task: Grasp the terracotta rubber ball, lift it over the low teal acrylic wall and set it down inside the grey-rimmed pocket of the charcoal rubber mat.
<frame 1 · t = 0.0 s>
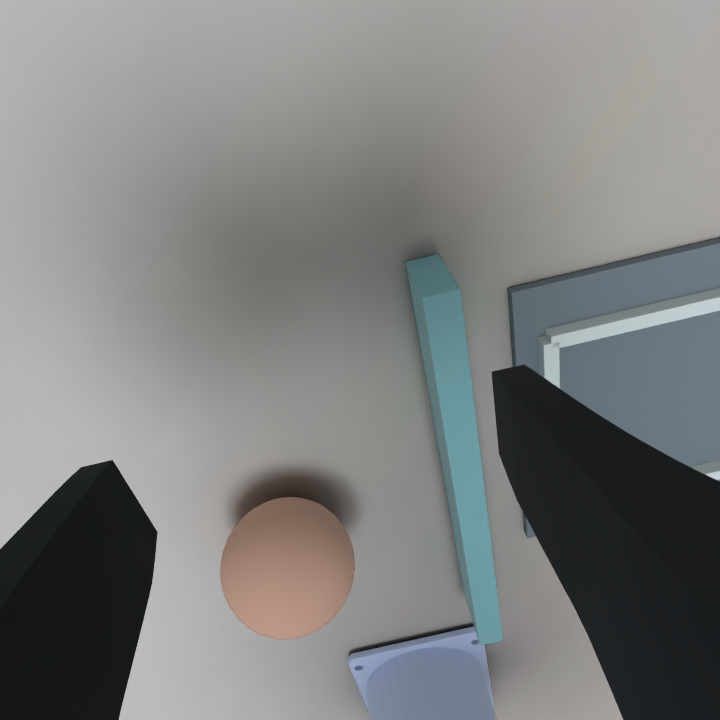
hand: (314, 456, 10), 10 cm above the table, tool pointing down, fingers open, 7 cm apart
rubber mat: (651, 398, 24), on the table
acrylic wall: (453, 460, 25), on the table
ball: (289, 514, 25), on the table
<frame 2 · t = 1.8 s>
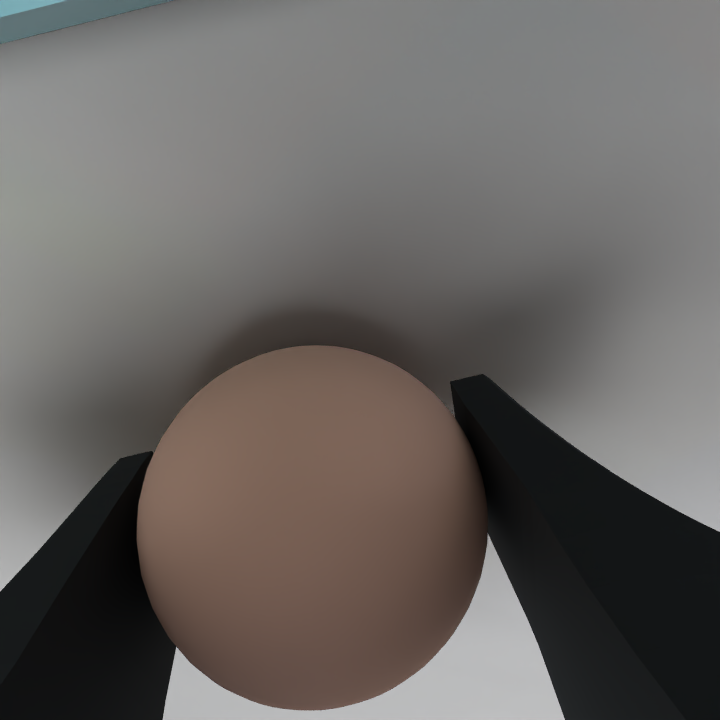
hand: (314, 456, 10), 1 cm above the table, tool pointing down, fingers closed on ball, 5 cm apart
ball: (312, 410, 11), on the table, touching gripper
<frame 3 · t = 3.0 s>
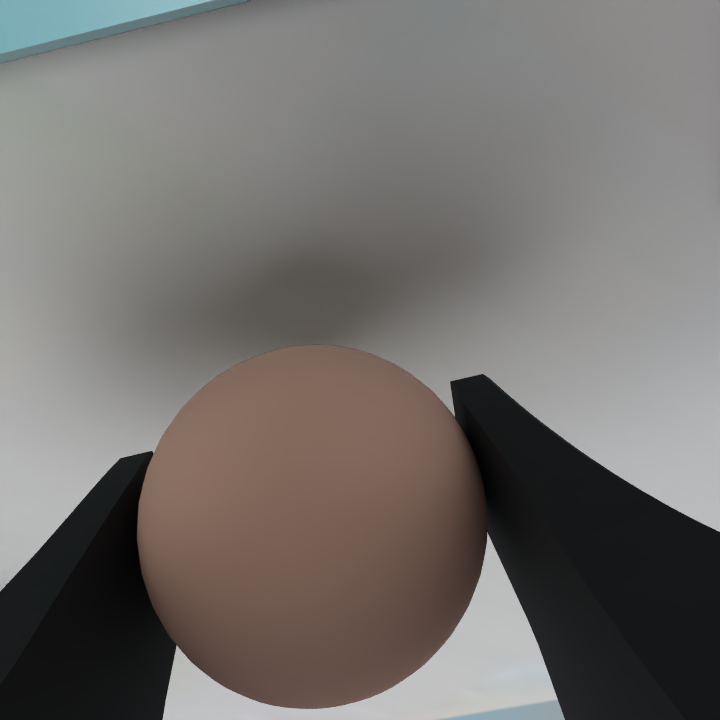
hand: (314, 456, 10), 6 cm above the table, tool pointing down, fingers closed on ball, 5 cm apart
ball: (311, 410, 11), point 5 cm above the table, touching gripper
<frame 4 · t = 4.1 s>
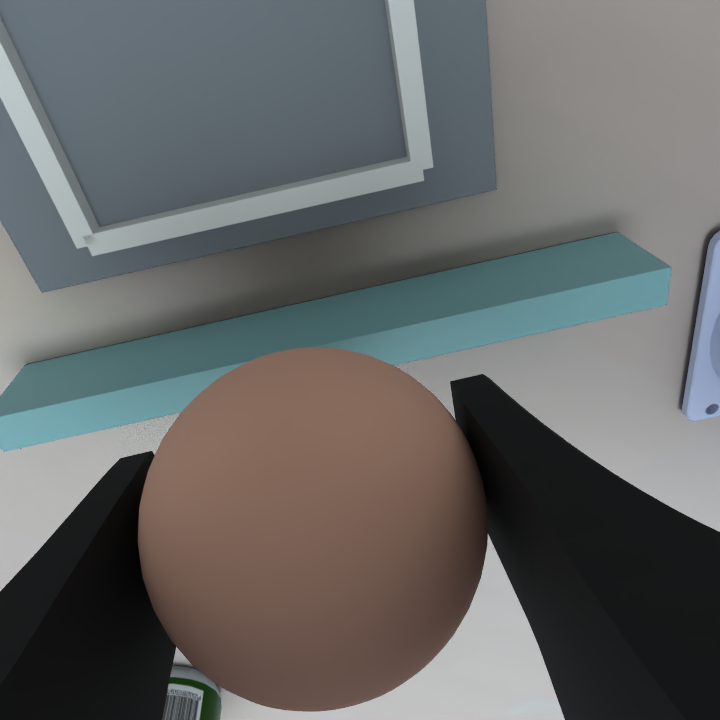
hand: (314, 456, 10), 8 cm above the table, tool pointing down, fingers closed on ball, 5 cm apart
rubber mat: (198, 7, 13), on the table
acrylic wall: (322, 314, 18), on the table
beer can: (172, 686, 29), on the table
ball: (312, 412, 11), point 7 cm above the table, touching gripper
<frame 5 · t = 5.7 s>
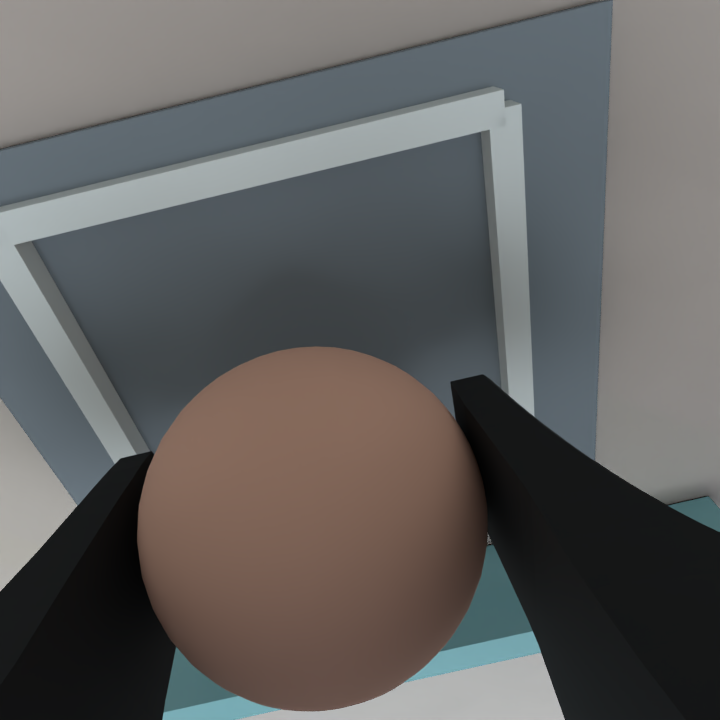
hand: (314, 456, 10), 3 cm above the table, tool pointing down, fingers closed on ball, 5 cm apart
rubber mat: (310, 360, 13), on the table
acrylic wall: (408, 575, 18), on the table
ball: (311, 411, 11), point 2 cm above the table, touching gripper
when the fingers open (3 cm above the table, at t = 6.6 s): ball drops 2 cm, resting on rubber mat.
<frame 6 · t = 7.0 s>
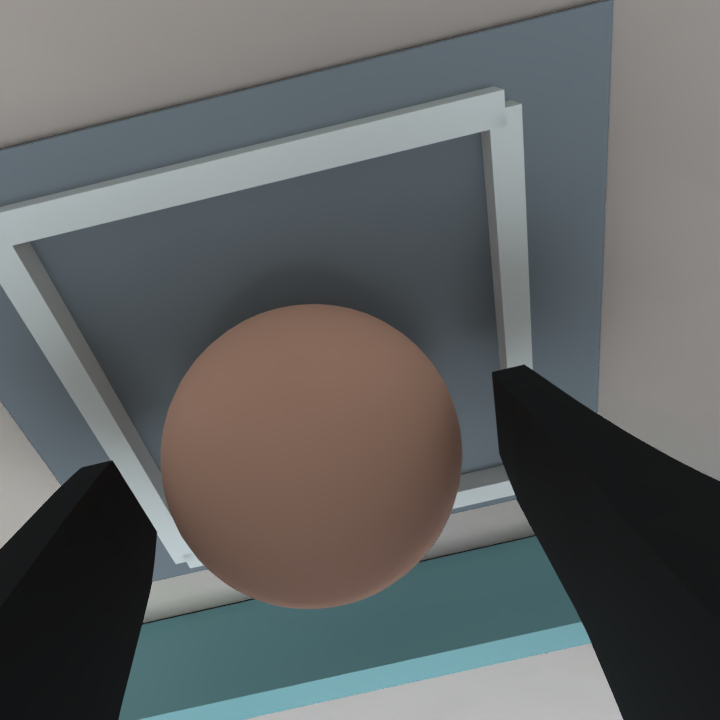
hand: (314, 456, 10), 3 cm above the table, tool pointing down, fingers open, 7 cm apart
rubber mat: (309, 361, 13), on the table
acrylic wall: (408, 576, 18), on the table
ball: (310, 370, 13), resting on rubber mat
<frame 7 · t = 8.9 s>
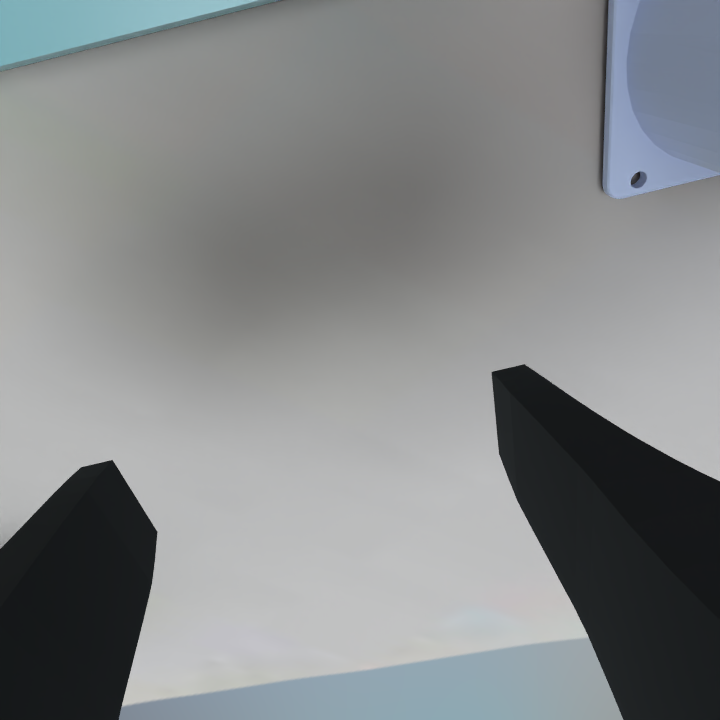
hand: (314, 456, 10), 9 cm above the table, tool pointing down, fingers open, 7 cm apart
acrylic wall: (113, 14, 14), on the table
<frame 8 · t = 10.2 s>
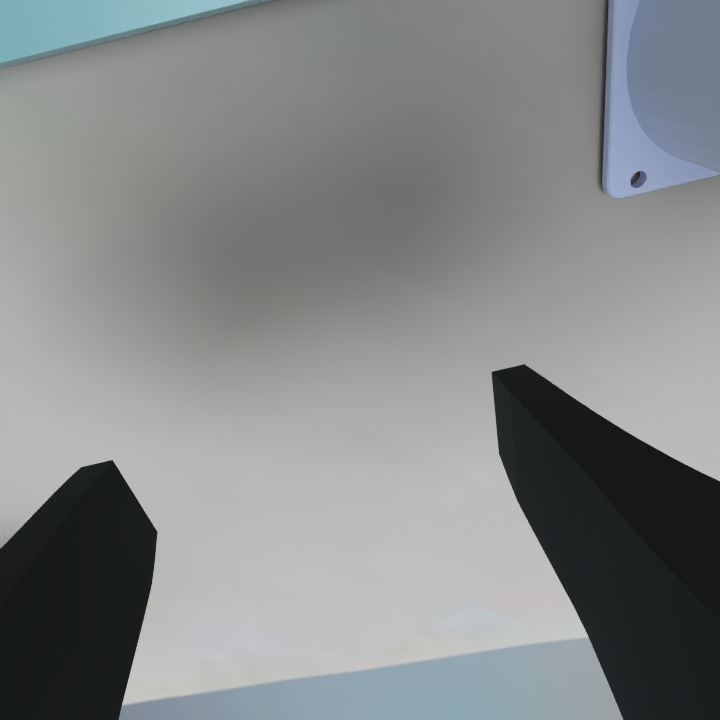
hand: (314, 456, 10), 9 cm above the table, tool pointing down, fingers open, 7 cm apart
acrylic wall: (112, 11, 14), on the table
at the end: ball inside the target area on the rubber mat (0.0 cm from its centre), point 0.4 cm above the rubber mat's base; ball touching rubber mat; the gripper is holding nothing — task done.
